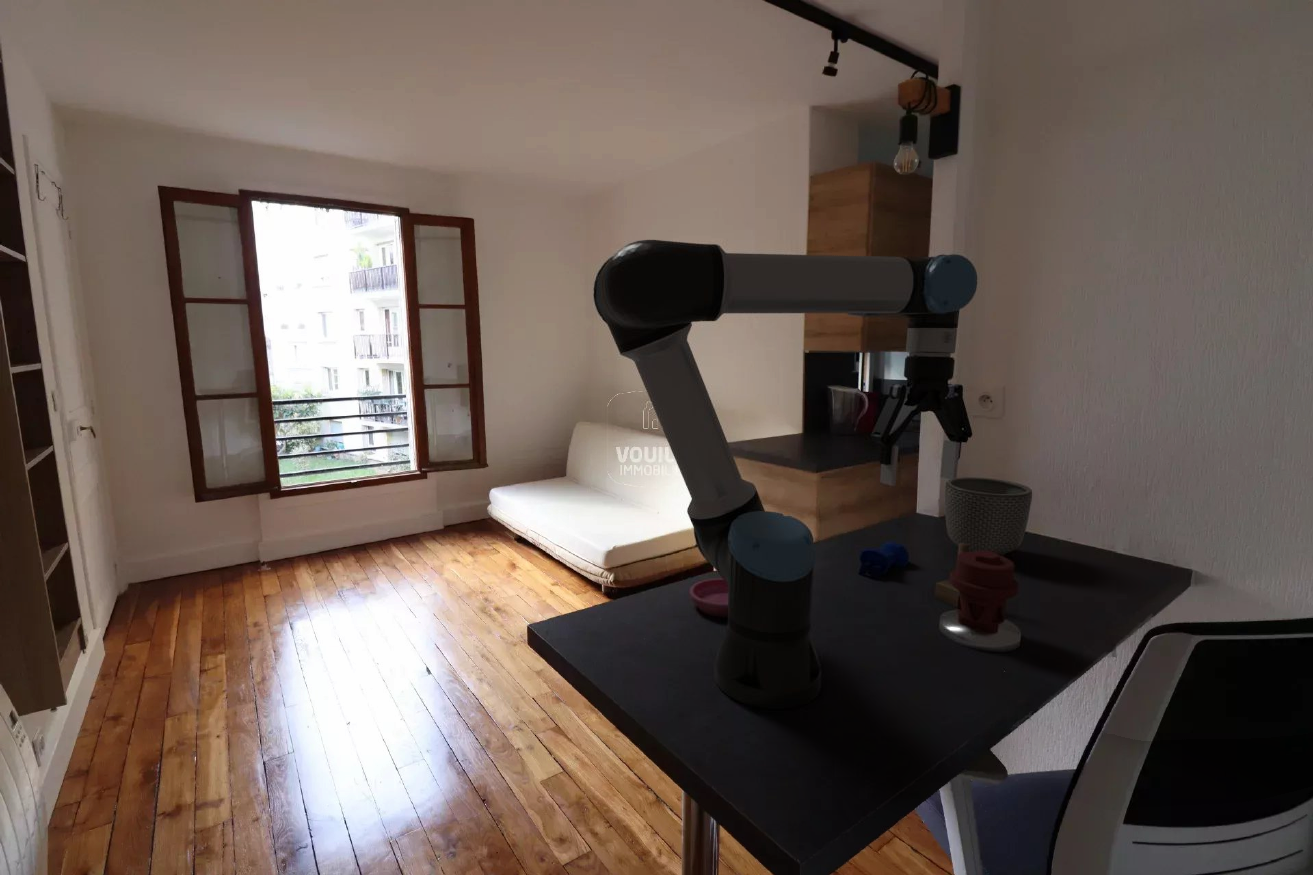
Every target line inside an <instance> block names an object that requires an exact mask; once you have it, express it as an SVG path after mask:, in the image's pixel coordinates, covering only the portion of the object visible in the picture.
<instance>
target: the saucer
mask: <svg viewBox="0 0 1313 875" xmlns="http://www.w3.org/2000/svg"><path fill="white" fill-rule="evenodd" d="M689 598H690V599H691V600H692V601H693V603H694V605H695V606H697V608H698V609H699V610H700V611H701V612H702V613H705V614H707V615H710V616H715V617H722V618H728V584H727V583H726V582H725V581H724V579H723V578H722V577H721V578H718V577H717V578H708V579H705V580H700V581H698V582H695V583H694V584H693V585H692V586H691V587H690V589H689Z"/></svg>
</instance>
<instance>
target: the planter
mask: <svg viewBox="0 0 1313 875" xmlns="http://www.w3.org/2000/svg"><path fill="white" fill-rule="evenodd" d="M944 489H945V490H944V499H945V500H944V511H945V526H946V531H947V532H946V533H947V535H948V537H949V539H950V540H951V541H952V542H953V543H954V544H955V545H957V546H959V543H966V544H969V545H970V546H969V552H974V551H976V550H986V551H991V552H994V553H996V554H998V555H999V556H1002V557H1005V555H1006V554H1007V553H1008V554H1009V553H1011V552H1013V551H1014V550H1016V549H1018V548H1019V547H1020V545H1021V544H1022V541H1023V539H1024V536H1025V533H1026V530H1027V526H1028V522H1029V516H1030V511H1031V505H1032V499H1033V491H1032V488H1030V487H1029V486H1027V485H1024V484H1021V483H1018V482H1014V481H1009V480H1004V479H1003V480H1002V479H999V478H997V479H995V478H989V477H988V478H987V477H975V476H974V477H964V476H963V477H956V480H951V479H947V481H946V483H945V487H944Z"/></svg>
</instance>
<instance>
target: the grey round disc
mask: <svg viewBox="0 0 1313 875" xmlns="http://www.w3.org/2000/svg"><path fill="white" fill-rule="evenodd" d="M938 626H939V627H938V628H939V631H940V632H941V633H942V635H944V636H945V637H946V638H948V639H949V640H951V641H953V642H955V643H957V644H958V645H962V646H964V647H968V648H971V649H974V650H979V651H985V652H995V653H1001V652H1002V653H1003V652H1010V651H1014V650H1016V649H1018V648H1019V647H1020V646H1021V639H1022V638H1021V637H1022V632H1021V629H1020V628H1019V627H1018V626H1017V625H1016V624H1015V623H1013V622H1011V621H1010V620H1007V619H1006V618H1005V620H1004V622H1003V623H1001V624H999V626H998V632H997V633H991V632H988V631H986V630H983V629H981V628H978V627H974V626H969V625H964V624H960V623H959V622H958V612H957V609H952V610H947V611H945V612H943V613H941V615H940V616H939V625H938Z"/></svg>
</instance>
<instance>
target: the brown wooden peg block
mask: <svg viewBox="0 0 1313 875" xmlns="http://www.w3.org/2000/svg"><path fill="white" fill-rule="evenodd" d="M957 546H958V545H957ZM969 546H970V545H969V544H966V543H959V546H958V550H957V556H958V555H959V554H961V553H964V552H969ZM958 595H959V590H957V589H956V588H955V587H954V586H953V585H952V584H951V583H950V578H948V579H945V580H942V581H938V582H936V583H935V590H934V598H935V599H936V600H939V601H941V602H944V603H946V604H947V605H951V606H953V607H955V608H956V609H957V608H958Z"/></svg>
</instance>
